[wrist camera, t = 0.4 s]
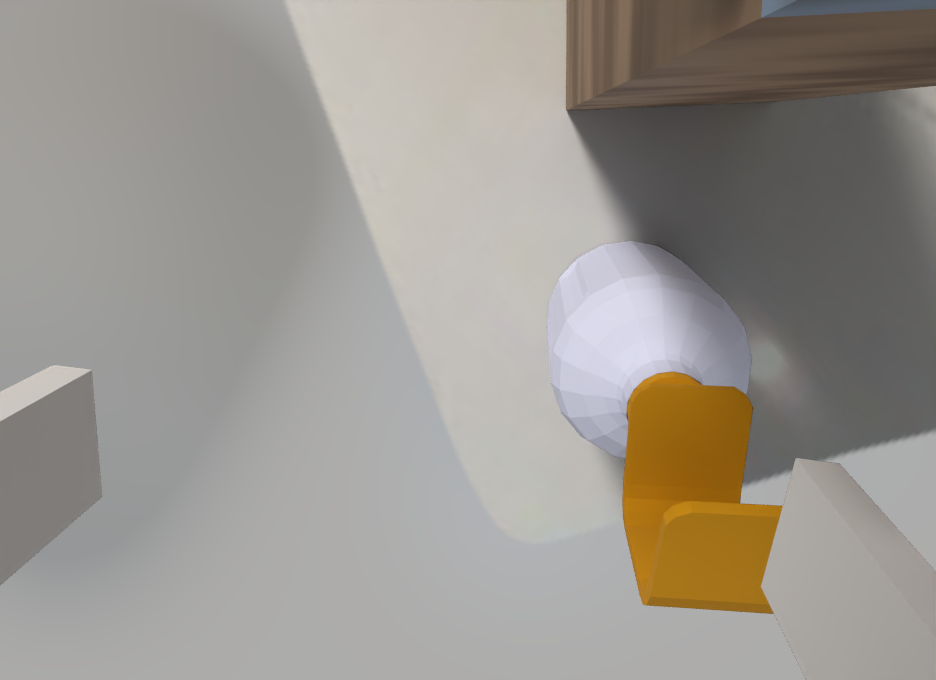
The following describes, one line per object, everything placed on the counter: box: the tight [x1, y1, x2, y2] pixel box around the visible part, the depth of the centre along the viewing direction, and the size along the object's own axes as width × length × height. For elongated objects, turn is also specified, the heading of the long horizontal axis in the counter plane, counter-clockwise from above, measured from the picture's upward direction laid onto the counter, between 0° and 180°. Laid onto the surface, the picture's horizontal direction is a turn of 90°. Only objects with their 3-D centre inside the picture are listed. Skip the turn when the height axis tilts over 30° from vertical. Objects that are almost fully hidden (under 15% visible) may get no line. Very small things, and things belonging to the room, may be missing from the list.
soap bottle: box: [547, 241, 783, 614], centre depth 29 cm, size 9×9×25 cm
